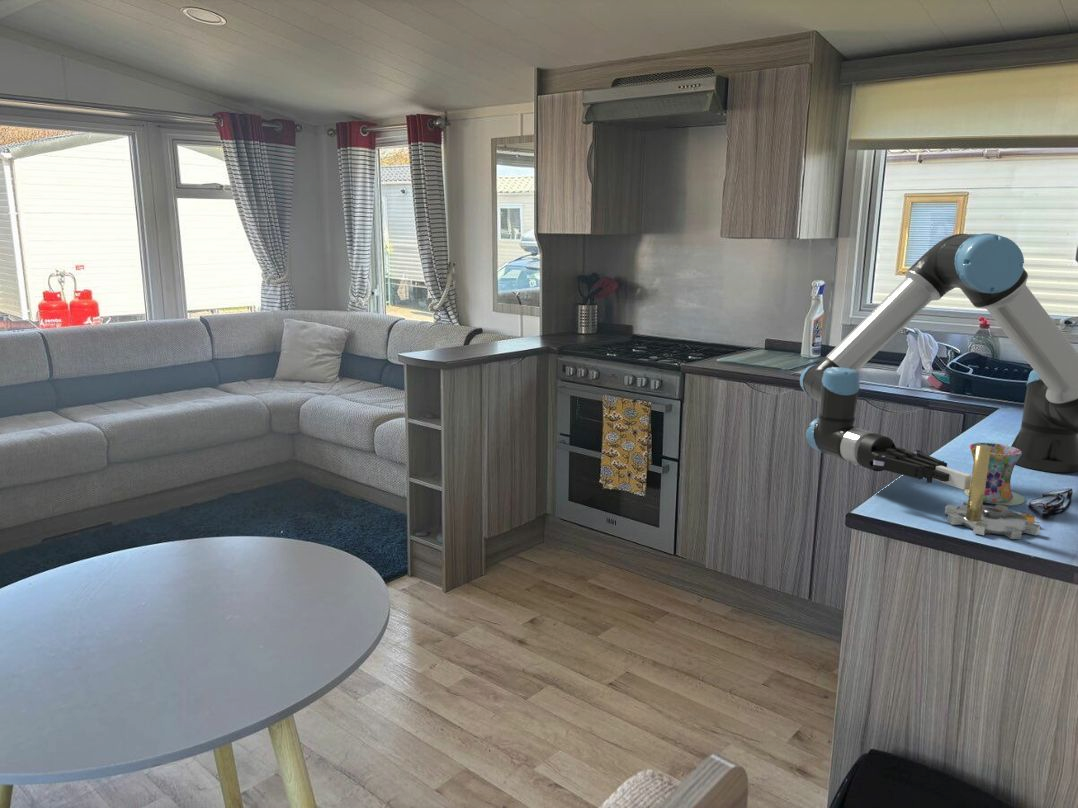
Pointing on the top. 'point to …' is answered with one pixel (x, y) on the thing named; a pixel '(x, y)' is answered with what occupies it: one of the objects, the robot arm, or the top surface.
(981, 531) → the sprocket
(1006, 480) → the mug
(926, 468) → the robot arm
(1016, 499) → the pale green plate
